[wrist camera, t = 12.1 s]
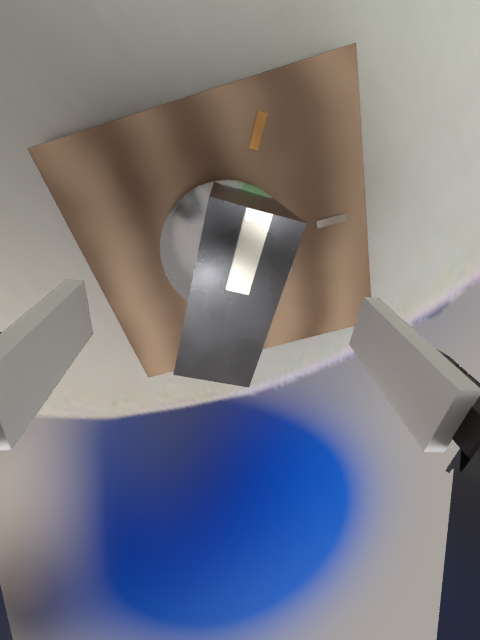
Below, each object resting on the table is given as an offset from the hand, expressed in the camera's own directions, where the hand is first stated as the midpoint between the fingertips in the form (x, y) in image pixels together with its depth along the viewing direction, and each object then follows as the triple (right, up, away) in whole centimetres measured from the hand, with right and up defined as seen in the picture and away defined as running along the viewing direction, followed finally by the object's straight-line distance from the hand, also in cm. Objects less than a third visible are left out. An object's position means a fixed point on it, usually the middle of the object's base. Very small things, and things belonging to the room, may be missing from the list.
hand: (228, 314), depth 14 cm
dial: (0, +6, +11) cm, 13 cm away
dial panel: (-1, +7, +14) cm, 16 cm away
